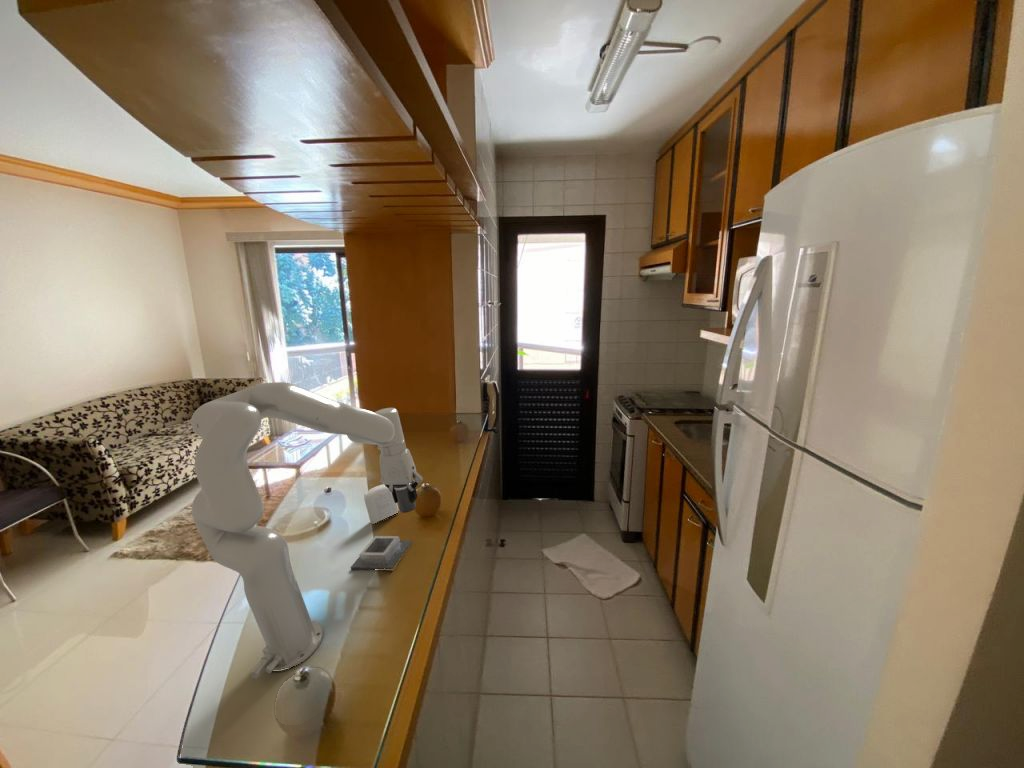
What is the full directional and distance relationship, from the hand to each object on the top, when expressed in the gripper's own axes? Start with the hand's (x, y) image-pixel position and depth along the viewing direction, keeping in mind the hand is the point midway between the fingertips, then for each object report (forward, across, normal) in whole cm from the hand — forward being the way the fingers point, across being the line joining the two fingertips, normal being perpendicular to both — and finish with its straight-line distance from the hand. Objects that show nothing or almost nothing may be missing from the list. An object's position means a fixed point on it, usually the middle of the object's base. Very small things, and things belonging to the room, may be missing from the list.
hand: (406, 500), depth 126 cm
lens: (+3, 0, 0) cm, 3 cm away
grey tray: (+13, -6, -10) cm, 18 cm away
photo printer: (+13, -17, +10) cm, 23 cm away
